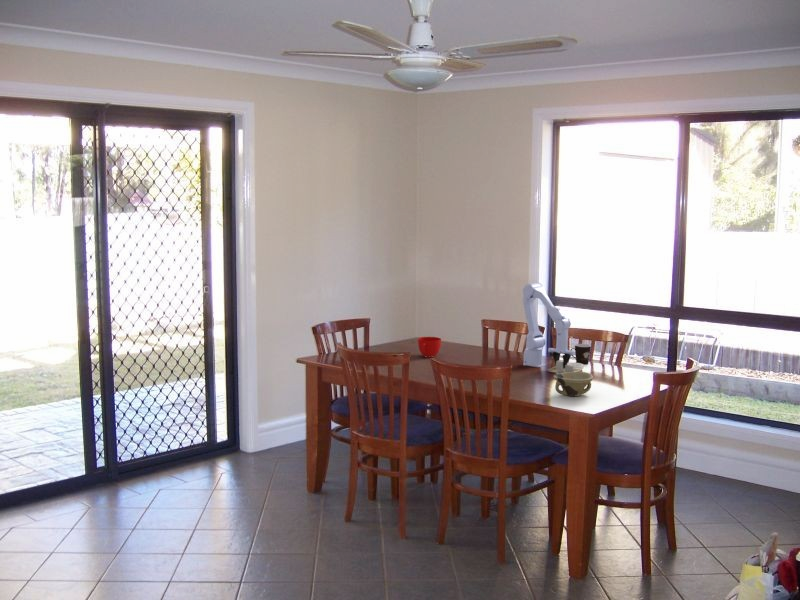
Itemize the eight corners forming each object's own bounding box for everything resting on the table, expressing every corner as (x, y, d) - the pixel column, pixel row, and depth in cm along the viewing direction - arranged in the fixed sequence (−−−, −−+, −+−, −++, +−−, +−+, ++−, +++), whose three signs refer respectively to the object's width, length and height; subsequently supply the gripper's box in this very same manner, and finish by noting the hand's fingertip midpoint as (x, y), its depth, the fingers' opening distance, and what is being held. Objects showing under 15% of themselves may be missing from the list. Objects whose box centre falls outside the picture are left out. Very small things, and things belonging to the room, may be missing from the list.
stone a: (555, 370, 417) (556, 361, 416) (559, 368, 420) (560, 359, 420) (562, 371, 415) (562, 362, 414) (566, 369, 418) (566, 360, 417)
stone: (564, 373, 409) (565, 365, 409) (566, 372, 413) (566, 364, 412) (572, 374, 408) (573, 366, 407) (574, 372, 411) (574, 365, 410)
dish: (562, 368, 422) (562, 364, 422) (570, 365, 429) (570, 361, 429) (578, 371, 417) (578, 367, 416) (586, 368, 424) (586, 364, 424)
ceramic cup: (411, 359, 444) (412, 341, 443) (422, 353, 460) (422, 336, 458) (433, 361, 439) (434, 343, 438) (444, 355, 455) (444, 337, 454)
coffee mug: (589, 362, 439) (589, 344, 438) (591, 365, 431) (592, 347, 429) (567, 361, 440) (568, 343, 439) (569, 364, 432) (570, 346, 430)
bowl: (586, 389, 379) (587, 370, 378) (596, 400, 361) (597, 379, 360) (549, 390, 378) (550, 370, 377) (558, 400, 361) (558, 379, 359)
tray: (547, 372, 415) (547, 369, 414) (557, 368, 423) (557, 365, 423) (572, 376, 406) (572, 373, 406) (582, 372, 415) (582, 369, 414)
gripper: (545, 341, 417) (544, 366, 419) (571, 344, 408) (570, 370, 410) (552, 339, 422) (551, 364, 424) (577, 342, 413) (576, 368, 415)
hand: (561, 367), depth 417 cm, fingers closed on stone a, 4 cm apart
